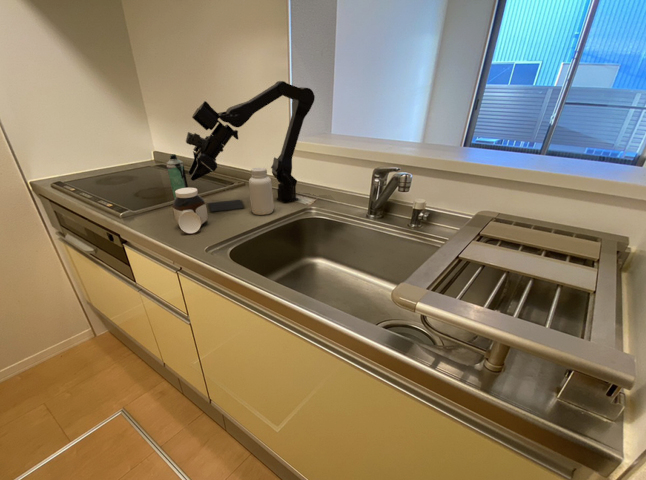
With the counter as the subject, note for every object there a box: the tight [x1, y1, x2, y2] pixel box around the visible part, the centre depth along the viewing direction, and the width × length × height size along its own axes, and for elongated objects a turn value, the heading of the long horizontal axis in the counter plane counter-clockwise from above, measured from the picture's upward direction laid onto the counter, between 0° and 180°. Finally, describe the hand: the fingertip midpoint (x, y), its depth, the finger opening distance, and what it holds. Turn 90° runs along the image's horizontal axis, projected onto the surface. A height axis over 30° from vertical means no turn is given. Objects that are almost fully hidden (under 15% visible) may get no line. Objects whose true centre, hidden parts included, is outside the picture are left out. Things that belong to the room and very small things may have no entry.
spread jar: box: [172, 187, 208, 234], centre depth 110 cm, size 12×11×12 cm
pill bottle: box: [248, 167, 274, 216], centre depth 121 cm, size 8×8×15 cm
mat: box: [208, 199, 245, 213], centre depth 130 cm, size 12×10×1 cm
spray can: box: [166, 153, 189, 201], centre depth 120 cm, size 6×6×20 cm
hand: (190, 176), depth 119 cm, fingers open, 9 cm apart
